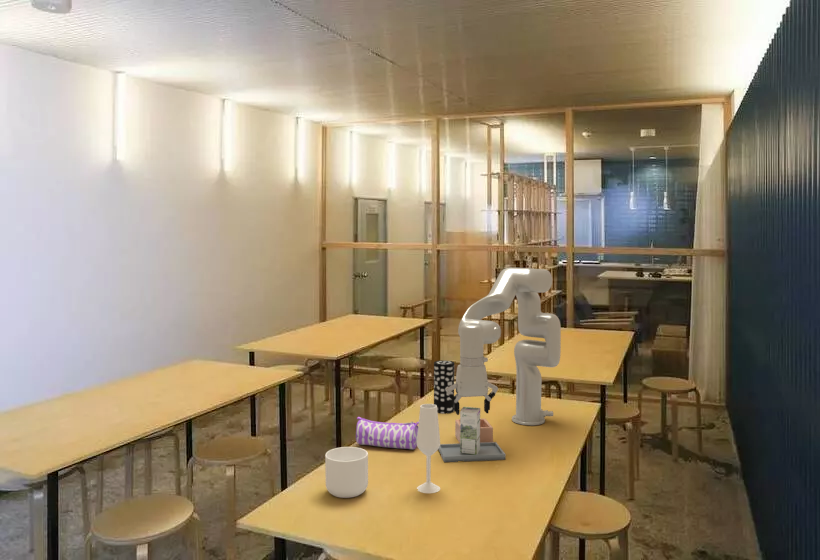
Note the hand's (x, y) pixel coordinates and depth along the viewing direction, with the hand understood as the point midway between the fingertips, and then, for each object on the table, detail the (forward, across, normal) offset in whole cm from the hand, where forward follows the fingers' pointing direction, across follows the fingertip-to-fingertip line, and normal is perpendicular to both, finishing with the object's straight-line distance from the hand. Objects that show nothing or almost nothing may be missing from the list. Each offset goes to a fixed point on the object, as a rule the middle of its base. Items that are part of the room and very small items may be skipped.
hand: (471, 412), depth 210 cm
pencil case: (+14, +27, -11) cm, 32 cm away
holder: (+14, -4, -13) cm, 20 cm away
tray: (+14, 0, +1) cm, 14 cm away
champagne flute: (+13, +18, +27) cm, 35 cm away
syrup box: (+13, +1, 0) cm, 13 cm away
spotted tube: (+15, 0, -51) cm, 53 cm away
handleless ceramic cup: (+13, +42, +26) cm, 51 cm away
